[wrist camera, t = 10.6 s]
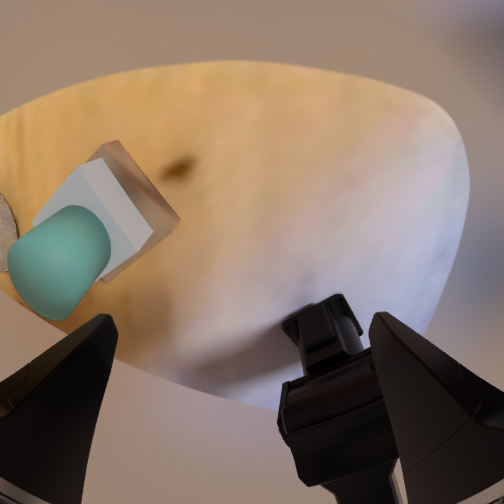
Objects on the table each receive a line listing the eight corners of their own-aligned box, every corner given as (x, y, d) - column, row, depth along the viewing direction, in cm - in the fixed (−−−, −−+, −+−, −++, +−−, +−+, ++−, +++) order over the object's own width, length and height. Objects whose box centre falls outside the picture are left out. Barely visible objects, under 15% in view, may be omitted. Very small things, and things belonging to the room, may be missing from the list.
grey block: (153, 231, 18) (138, 251, 15) (99, 270, 20) (82, 291, 17) (101, 157, 15) (77, 166, 13) (53, 208, 17) (31, 223, 14)
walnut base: (182, 216, 21) (172, 231, 18) (120, 265, 23) (106, 283, 20) (121, 139, 18) (102, 143, 15) (66, 200, 20) (47, 212, 17)
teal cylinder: (125, 250, 15) (88, 299, 11) (85, 285, 17) (52, 331, 12) (76, 189, 13) (24, 220, 9) (42, 233, 15) (-1, 269, 10)
